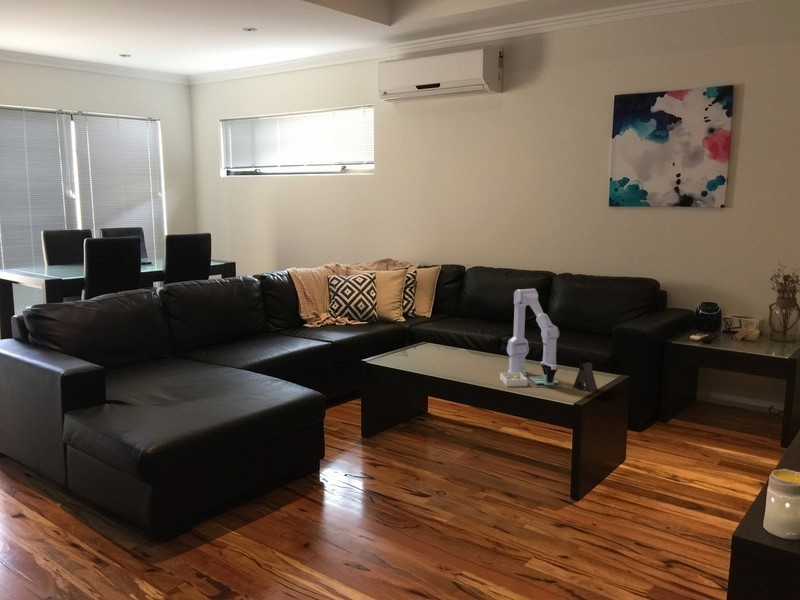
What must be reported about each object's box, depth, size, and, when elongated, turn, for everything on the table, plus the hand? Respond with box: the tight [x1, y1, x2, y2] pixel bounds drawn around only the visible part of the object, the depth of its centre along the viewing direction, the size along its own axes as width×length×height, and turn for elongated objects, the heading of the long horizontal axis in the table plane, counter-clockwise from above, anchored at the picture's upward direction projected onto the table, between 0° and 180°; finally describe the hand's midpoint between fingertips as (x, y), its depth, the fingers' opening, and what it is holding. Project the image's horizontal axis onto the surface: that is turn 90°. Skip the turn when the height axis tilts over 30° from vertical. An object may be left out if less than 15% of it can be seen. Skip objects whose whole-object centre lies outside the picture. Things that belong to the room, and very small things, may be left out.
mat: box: [525, 376, 564, 389], centre depth 321 cm, size 18×13×1 cm
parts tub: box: [499, 372, 529, 387], centre depth 320 cm, size 13×10×3 cm
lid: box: [528, 374, 560, 385], centre depth 319 cm, size 17×11×4 cm, turn 4°
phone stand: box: [572, 361, 598, 393], centre depth 309 cm, size 9×6×12 cm, turn 40°
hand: (548, 381), depth 313 cm, fingers closed on lid, 3 cm apart
